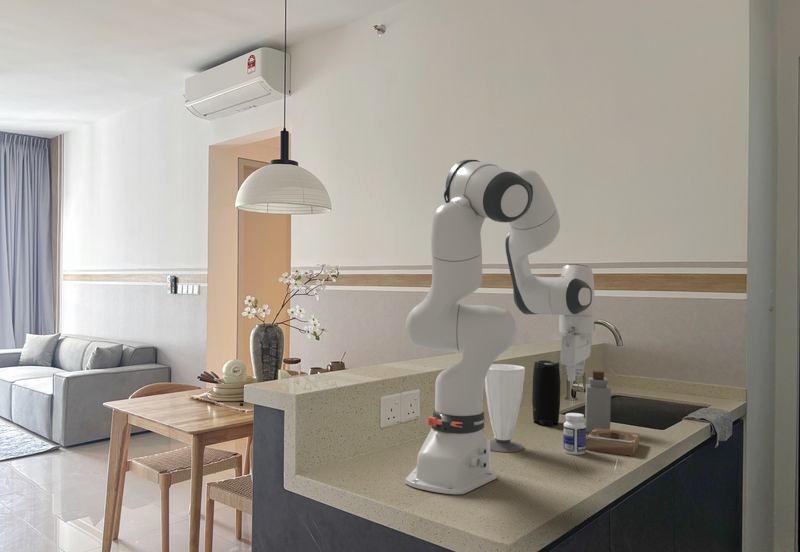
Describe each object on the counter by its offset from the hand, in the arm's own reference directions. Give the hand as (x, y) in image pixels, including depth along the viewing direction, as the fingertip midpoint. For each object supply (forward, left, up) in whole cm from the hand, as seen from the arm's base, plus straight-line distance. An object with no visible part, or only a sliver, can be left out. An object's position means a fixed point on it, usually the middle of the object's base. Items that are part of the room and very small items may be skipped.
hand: (575, 378), depth 159 cm
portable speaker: (+29, +15, -20) cm, 38 cm away
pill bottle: (0, 0, -20) cm, 20 cm away
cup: (-5, +18, -20) cm, 27 cm away
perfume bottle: (+28, -1, -20) cm, 34 cm away
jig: (+11, -8, -19) cm, 24 cm away
